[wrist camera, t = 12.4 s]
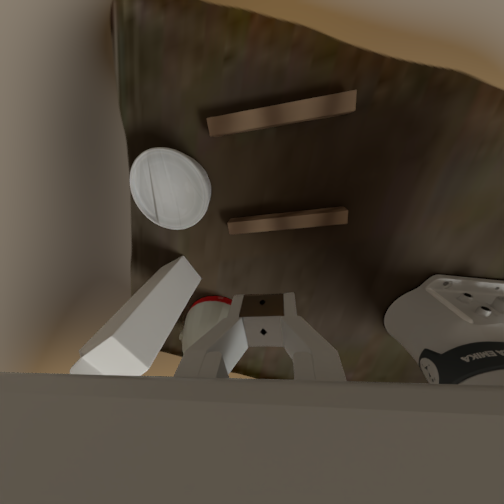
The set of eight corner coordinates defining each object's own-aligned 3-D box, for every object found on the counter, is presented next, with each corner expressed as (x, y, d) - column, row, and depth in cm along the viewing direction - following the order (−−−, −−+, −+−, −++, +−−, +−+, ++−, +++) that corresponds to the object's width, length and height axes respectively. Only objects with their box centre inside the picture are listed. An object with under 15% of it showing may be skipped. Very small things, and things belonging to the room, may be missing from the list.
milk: (183, 254, 38) (86, 363, 18) (202, 278, 40) (132, 399, 20) (160, 267, 40) (49, 378, 20) (179, 289, 42) (95, 409, 22)
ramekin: (135, 171, 32) (111, 174, 27) (189, 131, 29) (172, 127, 24) (178, 230, 36) (163, 242, 31) (230, 201, 33) (222, 209, 28)
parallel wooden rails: (349, 94, 25) (356, 89, 23) (342, 218, 32) (347, 223, 30) (211, 120, 28) (206, 118, 26) (232, 229, 35) (229, 234, 32)
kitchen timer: (198, 342, 49) (169, 413, 36) (181, 297, 43) (139, 362, 30) (254, 341, 47) (245, 417, 33) (244, 294, 41) (229, 363, 27)
